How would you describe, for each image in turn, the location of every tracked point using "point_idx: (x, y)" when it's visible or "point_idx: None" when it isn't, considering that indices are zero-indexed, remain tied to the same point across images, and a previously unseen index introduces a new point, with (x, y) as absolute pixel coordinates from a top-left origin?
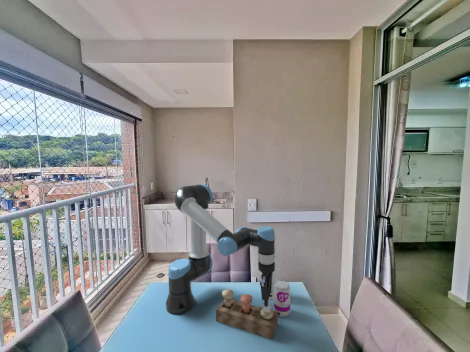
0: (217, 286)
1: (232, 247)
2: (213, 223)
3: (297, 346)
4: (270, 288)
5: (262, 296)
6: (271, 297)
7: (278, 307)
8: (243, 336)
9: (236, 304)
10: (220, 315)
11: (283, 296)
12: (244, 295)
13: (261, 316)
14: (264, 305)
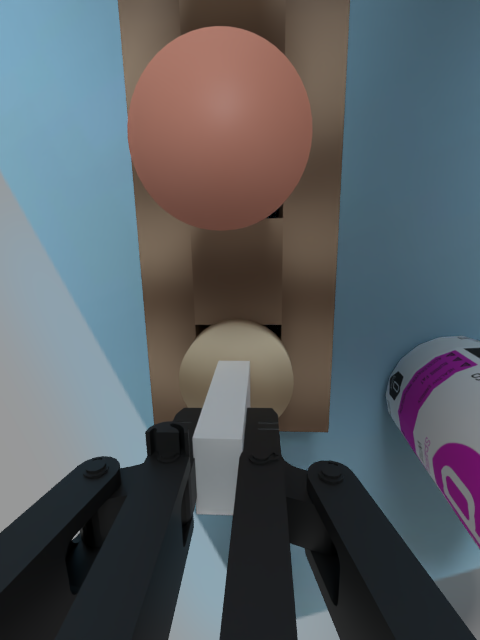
0: None
1: None
2: None
3: (195, 503)
4: (332, 607)
5: (31, 522)
6: None
7: (413, 410)
8: (117, 215)
9: (285, 9)
10: None
11: (469, 532)
12: (257, 78)
13: (195, 338)
14: (178, 415)
